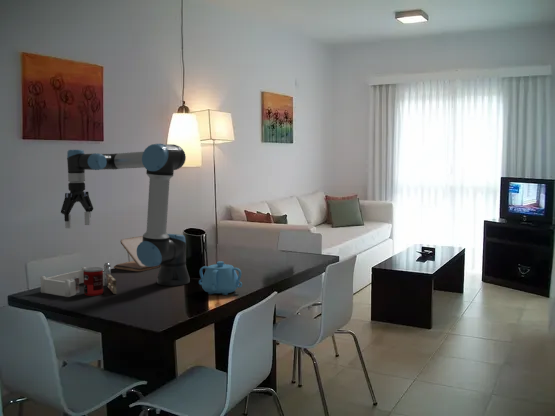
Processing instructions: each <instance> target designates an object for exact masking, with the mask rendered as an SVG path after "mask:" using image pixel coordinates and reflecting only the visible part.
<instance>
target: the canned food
mask: <svg viewBox="0 0 555 416" xmlns="http://www.w3.org/2000/svg"><path fill="white" fill-rule="evenodd" d="M103 272H104V267H98V266H93V267H91V266H89V267H86V268H85V269H84V283H83V292H84V296H86V297H87V296H89V297H93V296H94V297H96V296H102V295H103V293H104V286H103Z"/></svg>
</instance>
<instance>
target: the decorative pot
mask: <svg viewBox="0 0 555 416" xmlns="http://www.w3.org/2000/svg"><path fill="white" fill-rule="evenodd" d="M203 270H205V272H204V274H203ZM237 272H238V274H237ZM242 274H243V273H242V270H241V269H240V268H239V267H234V266H233V265H232V264H228V263H227V264H226V263H225V262H224V260H223V261H222V260H221V261H216V264H211V265H208V266H207V265H204V266H202V267H200V269H199V276H200V279H199V280H198V284H199V285H200V286H201V288H202V289H203V290H204V292H205V293H207V294H208V295H215V294H221V295H222V296H228V295H229V294H230V293H233V292H235V291H236V290H237V289H239V288H240V289H241V288H242V287H243V282H242V281H241V278H242Z"/></svg>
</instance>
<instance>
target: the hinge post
mask: <svg viewBox="0 0 555 416" xmlns="http://www.w3.org/2000/svg"><path fill="white" fill-rule="evenodd" d="M103 272H104V286H103V287H107V274H110V275H111V273H112V271H111V264H110V262H105V263H104V264H103ZM111 276H112V275H111Z"/></svg>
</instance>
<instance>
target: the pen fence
mask: <svg viewBox="0 0 555 416" xmlns="http://www.w3.org/2000/svg"><path fill="white" fill-rule="evenodd" d="M85 268H87V267H86V266H82V267H81V269H80V270H74V271H69V272H67V273H61V274H58V275H53V276H48V277H46V275H42V276H41V275H40V293H41V294H50V295H54V296H60V297H65V298H70V297H73V296H75V295H76V294H77V293H76V286H75V281H71V278H75V277H77V278H79V285H80V284H84V269H85ZM103 287H105V286H104V271H103Z"/></svg>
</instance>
